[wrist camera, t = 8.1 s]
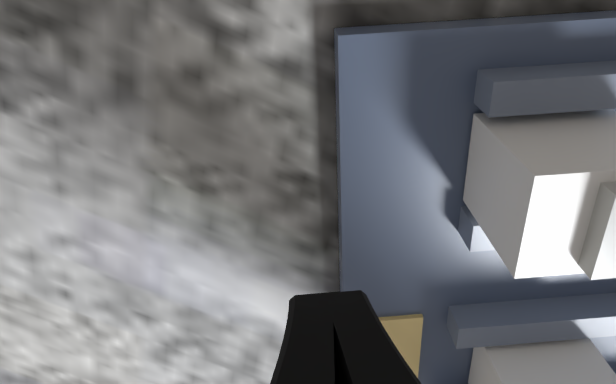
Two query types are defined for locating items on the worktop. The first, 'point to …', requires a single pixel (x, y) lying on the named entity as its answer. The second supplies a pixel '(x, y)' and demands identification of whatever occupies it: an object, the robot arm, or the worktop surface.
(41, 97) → the worktop surface
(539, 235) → the tab
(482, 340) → the switch board
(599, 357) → the tab
